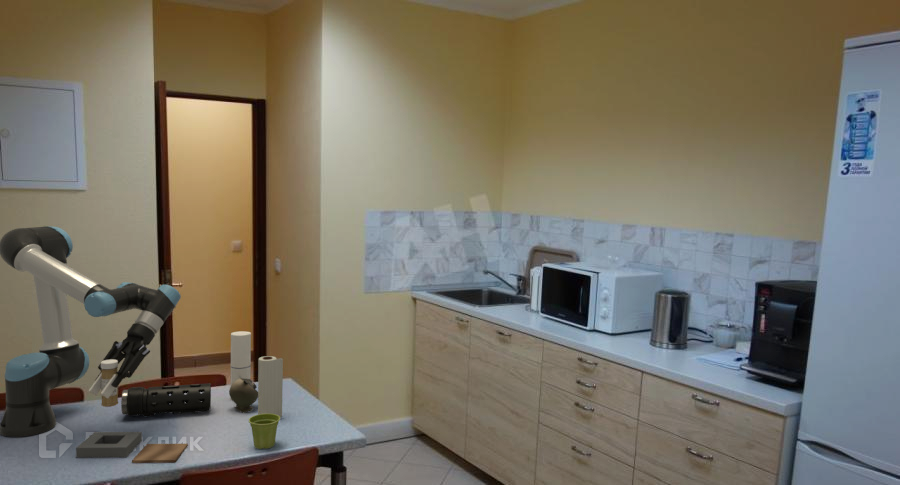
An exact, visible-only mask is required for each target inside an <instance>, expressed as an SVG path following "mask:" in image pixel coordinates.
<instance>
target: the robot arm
mask: <svg viewBox="0 0 900 485" xmlns="http://www.w3.org/2000/svg"><path fill="white" fill-rule="evenodd" d="M73 245H74V244H73V241H72V238H71V236H70V235H69V233H68V232H67V231H66V230H64V229H63V228H61V227H58V226H45V225H44V226H35V227H34V226H33V227H19V228H14V229H11V230H9V231H8V232H6V233H5V234H4V235H3V236H2V237H1V239H0V257H1V259H2V260H3V261H4V262H5V263H6V264H7V265H8V266H10V267H11V268H12V269H15V270H16V271H19V272H27V273H29V274H31V275H33V281H34V286H35V294H36V300H37V301H36V302H37V309H38V313H39V314H38V315H39V320H40V327H41V334H42V335H41V336H42V341H43V343H42V345H41V346H40V347H39V350H38V351H39V352H30V353H27V354H25V353H24V354H21V355H17V356H15V357H13V358H11V359H9V361H8V362H7V363H6V365H5V371H4V383H5V384H4V385H5V410H4V413H3V416H2V418H1V421H0V435H2V436H4V437H7V438H8V437H9V438H17V437H18V438H21V437H29V436H35V435H40V434H43V433H45V432H48V431H50V430H52V429H54V428H55V427H56V426H55V425H57V417H56V416H55V413H54V410H53V407H52V405H51V403H50V391H51V390H53V389H57V388H59V387H62V386H64V385H67V384H71V383H74V382H76V381H78V380H80V379H82V378H83V377H84V376H85V375H86V373H87V372H88V370H89V367H90V356H89V354H88V352H87V351H86V350H85V348H83V347H81V346H80V342H79V341H78V340H76V339H74V336H73V331H72V324H71V323H72V322H71V317H70V311H69V310H70V309H69V303H68V297H71V298H73V299H75V300H76V301H78V302H80V303H81V304H83V306H84V307H83V308H84V309H85V311H86V312H87V314H88V315H90V316H91V317H94V318H101V317H107V316H111V315H114V314H118V313H121V312H126V311H129V310H139V311H141V312H140V313H139V315H138V316H137V318H136V319H135V320H134V323H132V324H131V326H130V327H129V328H128V330H127V331H126V337H125V338H124V339H123V340H122V341H117V340H115V341H114V342H112V346H111V348H110V349H109V350H108V353H106V355H105V356H104V358H103V359H102V361H104V360H110V359H114V360H117V361H118V365H119V364H120V363H121V362H122V361H123V362H122V363H121V365H120V367H119V370H117V372H116V374H117V375H116V374H114V375H113V377H112V378H111V379H110V381H109V382H108V384H107V385H106V386H105V388H104V389H103V391H102V392H100V391H101V378H102V372H101V362H100V364H99V365H98V366H97V369H98V370H99V371H100V372H99V374H98V375H97V377H96V378H95V379H94V382H93V384H92V385H91V386H90V388H89V389H88V392H89V393H91V394H92V395H94V396H97V395H98V393H99V392H100V394H101V396H102V395H103V396H104V397H106V398H109V397H110V395H111V394H112V392H113V391H114V389H115V388H117V387H118V388H119V385H120V384H121V383H122V381H123V380H124V379H126V378H128V379H130V378H131V377H132V376H134V375H133V374H134V373H135V372H136V370H137V369H138V368H139V366H140V364H142V362H143V360H144V359H145V358H146V357H147V356H148V355H149V354H150V352H151V350H150V349H149V348H148V347H147V346H148V345H150V344H151V342H153V340H154V338H155V337H156V334H158V332H159V331H160V329H161V327H162V326H163V325H164V323H165V322H166V320H167V318H168V317H169V316H170V315H171V313H173V311H174V309H175V308H176V307H177V305H178V303H179V301H180V300H181V297H182V296H181V293H180V291H178V290H177V289H176V288H175V287H173V286H171V285H169V284H161V285H160V286H159V287H157V289H154V288H150V287H147V286H143V285H139V284H137V283H133V282H129V281H124V282H121V283H120V284H119V285H117V286H116V288H112V289H110V288H108V287H106V286H104V285H102V284H100V283H99V282H97V281H95V280H93V279H92V278H90V277H88V276H86V275H85V274H83V273H81V272H79V271H78V270H76V269H75V268H72V267H70V266H69V265H68V261H67V258H69V257H70V256H71V252H73V250H74V247H73ZM67 296H68V297H67ZM53 427H54V428H53Z"/></svg>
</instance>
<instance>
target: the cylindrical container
mask: <svg viewBox="0 0 900 485" xmlns="http://www.w3.org/2000/svg"><path fill="white" fill-rule="evenodd" d="M251 337H252V332H250V331H244V330H243V331H242V330H240V331H233V332H231V333H230V386H231V385H232V384H233V383H234V382H235V381H236V380H238V379H240V377H241V378H244V379H251V371H252V370H251V369H252V368H251V367H252V366H251V365H252V364H251V363H252V362H251V361H252V360H251V359H252V358H251V357H252V356H251V354H252V350H251V349H252V348H251V347H252V346H251V345H252V343H251V342H252V338H251ZM239 376H240V377H239ZM229 397H230V396H229ZM230 401H232V399H231V397H230Z"/></svg>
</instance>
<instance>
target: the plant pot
mask: <svg viewBox="0 0 900 485" xmlns="http://www.w3.org/2000/svg"><path fill="white" fill-rule="evenodd" d="M280 420H281V417H280V416H278V415H276V414H258V413H257V414H254V415H252V416H251V417H249V418H248V423H249V424H250V427H251V432H252V440H253V445H254V446H253V447H254V448H256V449H258V450H262V449H266V450H267V449H270V448H273V447H274V446H275V444H276V439H277V438H276V435H277V429H278V425H279V422H280Z"/></svg>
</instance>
